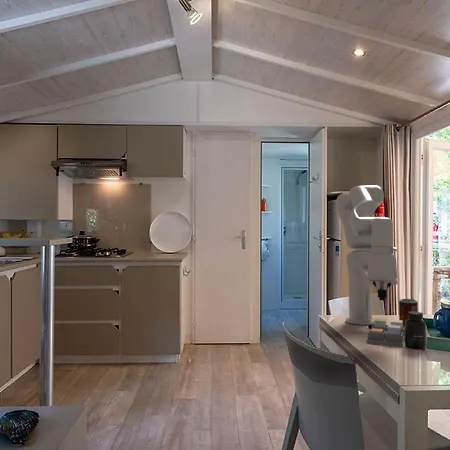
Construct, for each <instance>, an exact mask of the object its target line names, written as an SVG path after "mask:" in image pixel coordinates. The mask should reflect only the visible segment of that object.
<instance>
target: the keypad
mask: <svg viewBox="0 0 450 450" xmlns="http://www.w3.org/2000/svg"><path fill="white" fill-rule="evenodd" d="M389 325H390V324H386V327H385V328H382V327H374V324H372V326H371V329H372V328H375V329H383V334H381V333H371V329H369V331H368V332H367V339H366V344H367V345H368V344H370V345H380V346H391V347H401V348H403V346H404V344H405V326H403V328H402V329H401V334H400V335H392V334H388V326H389Z"/></svg>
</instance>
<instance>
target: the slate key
mask: <svg viewBox="0 0 450 450" xmlns="http://www.w3.org/2000/svg"><path fill="white" fill-rule="evenodd" d="M388 325H389V326H388V334H392V335H400V334H401V326H396V325H391V324H388Z"/></svg>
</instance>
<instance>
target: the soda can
mask: <svg viewBox="0 0 450 450" xmlns="http://www.w3.org/2000/svg"><path fill="white" fill-rule="evenodd" d="M418 306H419V302H418V301H417V299H413V298H402V299H400V300H399V301H398V310H399V311H398V312H399V313H398V314H399V317H398V320H402V321H403V326H405V321H406V320H407V319H409V318H408V312H411V311H414V312H419V307H418Z"/></svg>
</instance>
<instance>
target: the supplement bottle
mask: <svg viewBox="0 0 450 450" xmlns="http://www.w3.org/2000/svg"><path fill="white" fill-rule="evenodd" d="M408 318H409V319H407V320H406V321H405V340H404V345H405V347H406V348H408V349H413V350H425V349H426V348H427V323H426V321H425V320H423V319H424V313H423V312H420V311H418V312H414V311H411V312H408Z"/></svg>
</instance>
